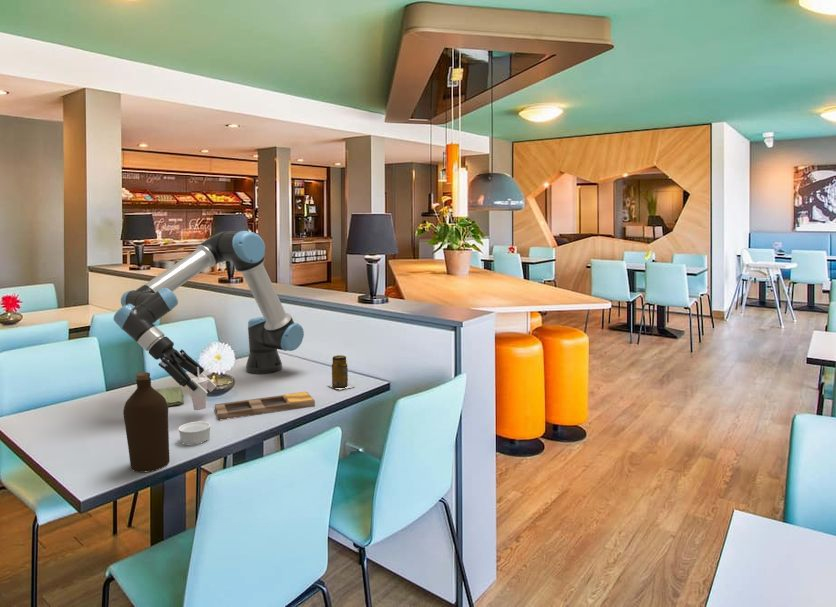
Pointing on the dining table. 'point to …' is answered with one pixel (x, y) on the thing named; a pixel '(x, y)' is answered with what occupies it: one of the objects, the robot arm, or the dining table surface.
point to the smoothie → (196, 400)
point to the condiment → (339, 372)
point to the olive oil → (147, 427)
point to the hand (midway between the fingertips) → (209, 392)
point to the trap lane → (264, 405)
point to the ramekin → (194, 432)
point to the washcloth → (172, 396)
